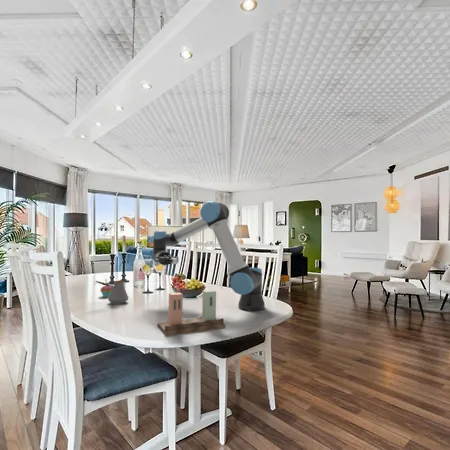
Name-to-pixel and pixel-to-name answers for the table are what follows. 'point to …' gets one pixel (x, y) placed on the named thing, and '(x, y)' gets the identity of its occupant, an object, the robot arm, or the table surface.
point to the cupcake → (106, 290)
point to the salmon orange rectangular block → (175, 308)
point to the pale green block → (209, 305)
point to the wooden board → (190, 326)
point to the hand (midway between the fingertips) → (176, 261)
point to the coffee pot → (117, 292)
